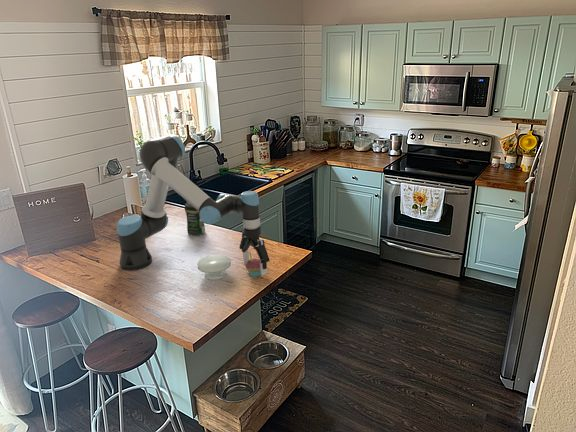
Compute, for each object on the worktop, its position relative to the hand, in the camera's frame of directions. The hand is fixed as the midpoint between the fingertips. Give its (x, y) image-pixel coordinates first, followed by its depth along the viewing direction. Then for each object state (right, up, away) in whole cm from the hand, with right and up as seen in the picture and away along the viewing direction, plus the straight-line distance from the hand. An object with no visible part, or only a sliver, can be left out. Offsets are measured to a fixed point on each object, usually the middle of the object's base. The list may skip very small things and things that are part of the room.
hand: (255, 269), depth 199 cm
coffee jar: (-37, +14, +48) cm, 62 cm away
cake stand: (-18, -3, +2) cm, 19 cm away
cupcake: (0, -2, +1) cm, 3 cm away
